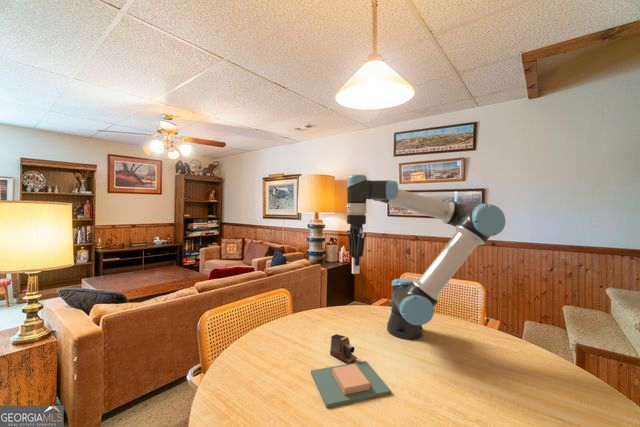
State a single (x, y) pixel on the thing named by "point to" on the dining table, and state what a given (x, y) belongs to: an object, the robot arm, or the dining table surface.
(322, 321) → the dining table surface
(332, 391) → the mat
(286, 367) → the dining table surface
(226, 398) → the dining table surface
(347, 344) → the electronic device
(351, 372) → the tile
